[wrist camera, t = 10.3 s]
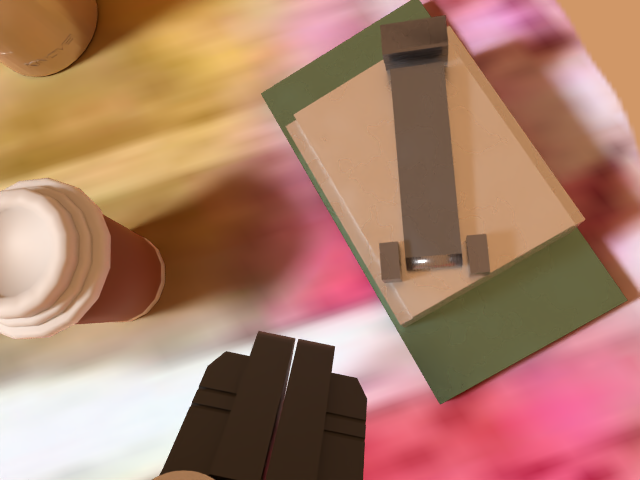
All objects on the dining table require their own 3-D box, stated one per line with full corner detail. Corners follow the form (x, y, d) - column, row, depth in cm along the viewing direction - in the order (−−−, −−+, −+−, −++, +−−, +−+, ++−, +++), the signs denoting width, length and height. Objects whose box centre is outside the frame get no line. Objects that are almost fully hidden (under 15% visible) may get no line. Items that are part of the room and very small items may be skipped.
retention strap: (462, 266, 33) (462, 265, 32) (407, 271, 34) (406, 269, 33) (443, 67, 35) (443, 61, 34) (391, 74, 35) (389, 68, 34)
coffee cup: (170, 200, 44) (72, 146, 32) (194, 323, 42) (100, 312, 30) (58, 235, 45) (-74, 196, 34) (77, 355, 43) (-57, 358, 32)
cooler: (265, 100, 44) (225, 43, 36) (417, 6, 43) (411, -75, 35) (440, 402, 38) (439, 417, 30) (621, 301, 37) (672, 288, 29)
